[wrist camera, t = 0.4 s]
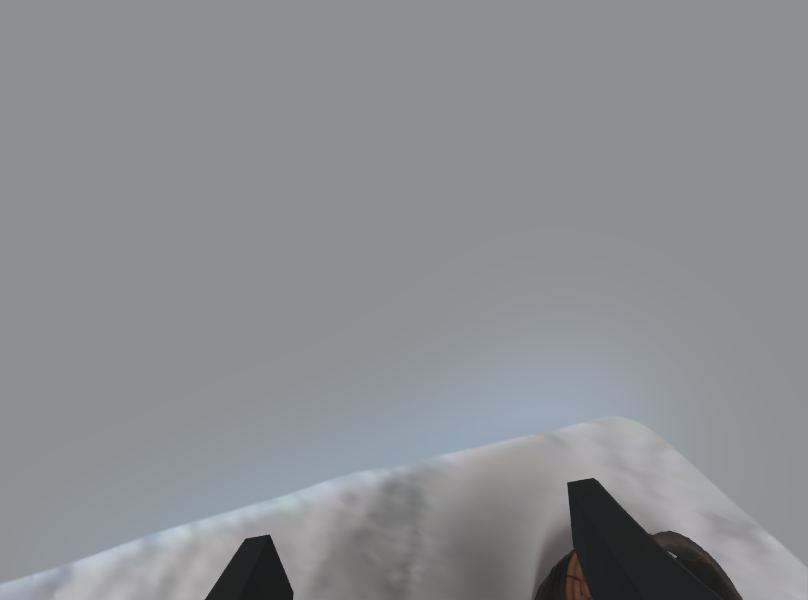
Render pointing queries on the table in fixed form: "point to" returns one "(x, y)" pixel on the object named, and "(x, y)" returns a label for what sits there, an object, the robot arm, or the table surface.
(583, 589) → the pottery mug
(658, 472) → the table surface
